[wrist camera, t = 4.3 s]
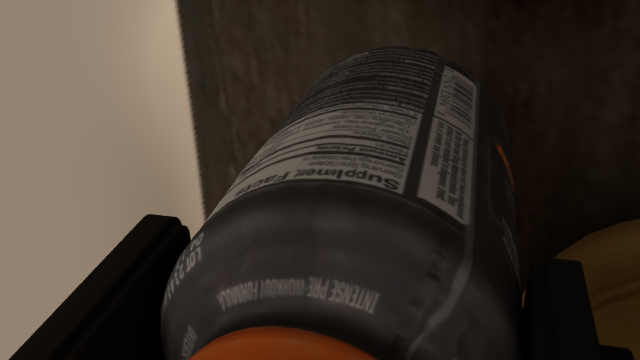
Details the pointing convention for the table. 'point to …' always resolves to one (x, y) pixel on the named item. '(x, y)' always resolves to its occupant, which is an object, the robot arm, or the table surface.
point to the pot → (612, 282)
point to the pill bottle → (362, 228)
